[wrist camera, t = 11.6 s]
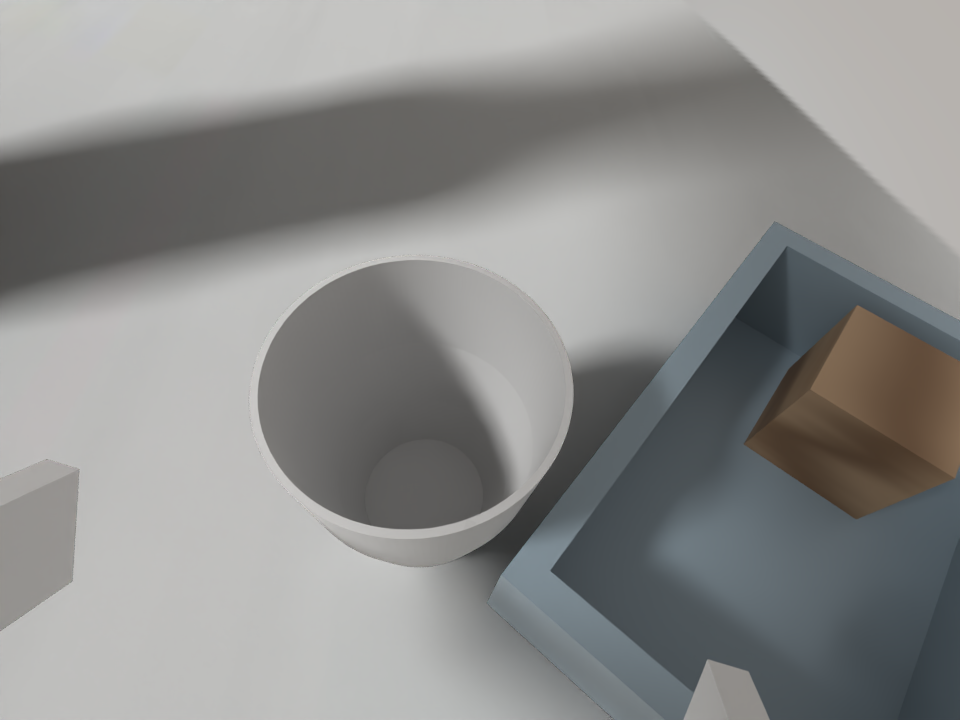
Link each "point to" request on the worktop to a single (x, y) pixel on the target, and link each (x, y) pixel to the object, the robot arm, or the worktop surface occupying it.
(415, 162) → the worktop surface
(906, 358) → the walnut cube
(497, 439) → the cup
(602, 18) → the worktop surface
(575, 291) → the worktop surface
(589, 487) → the tote
